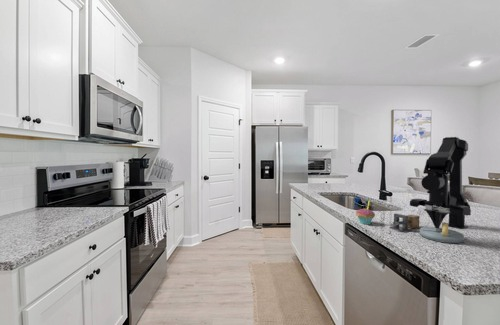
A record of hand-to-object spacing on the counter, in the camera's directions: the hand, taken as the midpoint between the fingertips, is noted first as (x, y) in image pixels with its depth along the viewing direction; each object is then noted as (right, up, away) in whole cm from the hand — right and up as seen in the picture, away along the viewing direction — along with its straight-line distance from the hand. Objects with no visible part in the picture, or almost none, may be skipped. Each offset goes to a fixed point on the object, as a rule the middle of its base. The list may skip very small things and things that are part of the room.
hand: (437, 228), depth 96 cm
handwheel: (+4, -5, +3) cm, 7 cm away
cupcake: (-17, -4, +24) cm, 30 cm away
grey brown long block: (-4, -4, +15) cm, 16 cm away
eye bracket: (-6, -4, +14) cm, 16 cm away
